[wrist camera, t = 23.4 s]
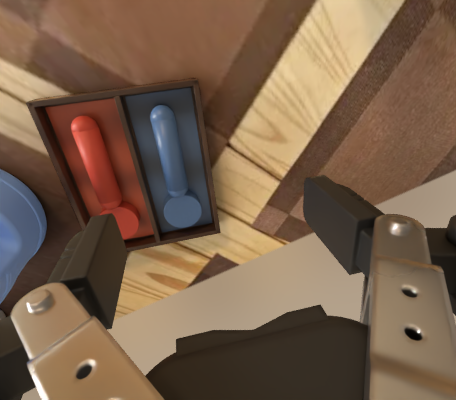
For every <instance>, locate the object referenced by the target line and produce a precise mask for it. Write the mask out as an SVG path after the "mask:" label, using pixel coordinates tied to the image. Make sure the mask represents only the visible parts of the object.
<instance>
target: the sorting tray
mask: <svg viewBox="0 0 456 400" xmlns="http://www.w3.org/2000/svg"><path fill="white" fill-rule="evenodd" d="M26 104H27V106H28V109H29V111H30V113H31V115H32V118H33V120H34V122H35V124H36V127H37V129H38V131H39V133H40V136H41V138H42V140H43V142H44V145H45V147H46V149H47V151H48V154H49V156H50V158H51V160H52V163H53V165H54V167H55V169H56V171H57V174H58V176H59V178H60V180H61V183H62V185H63V187H64V189H65V192H66V194H67V196H68V198H69V201H70V203H71V205H72V207H73V210H74V212H75V214H76V216H77V219H78V221H79V223H80V225H81V228H82V230H83V231H84V230H85V228H86V226H87V224H88V222H89V220H90V218H91V217H93V216H98V215H100V213H101V210H102V208H103V207H102V206H101V205H100V203H99V201H98V198H97V196H96V193H95V191H94V188H93V185H92V183H91V180H90V178H89V175H88V172H87V170H86V167H85V165H84V162H83V160H82V157H81V154H80V152H79V149H78V147H77V144H76V141H75V139H74V136H73V134H72V131H71V123H72V121H73V120H74V119H75V118H76V117H78V116H88V117H91V118H92V119H94V120H95V121H96V123H97V125H98V127H99V130H100V133H101V136H102V139H103V142H104V145H105V148H106V151H107V154H108V157H109V160H110V163H111V166H112V169H113V172H114V175H115V178H116V181H117V184H118V186H119V189H120V192H121V195H122V201H125V202H128V203H130V204H132V205H133V206H135V207H136V209H137V210H138V212H139V214H140V221H139V227H138V230H137V231H136V233H135V234H134V235H133V236H131V237H129V238H127V239H123V240H124V243H125V246H126V251H127V252H129V251H134V250H139V249H144V248H148V247H153V246H158V245H163V244H168V243H173V242H178V241H183V240H188V239H193V238H198V237H203V236H208V235H212V234H217V233H220V226H219V219H218V212H217V206H216V199H215V192H214V185H213V179H212V172H211V165H210V158H209V152H208V145H207V138H206V131H205V125H204V118H203V111H202V104H201V98H200V91H199V84H198V79H196V78H191V79H183V80H176V81H168V82H161V83H153V84H146V85H138V86H131V87H123V88H116V89H108V90H101V91H93V92H86V93H78V94H71V95H63V96H56V97H48V98H41V99H35V100H32V101H29V102H26ZM158 105H165V106H167V107H169V108H170V109H171V110H172V111H173V113H174V116H175V121H176V126H177V131H178V136H179V141H180V146H181V151H182V156H183V161H184V167H185V172H186V177H187V182H188V191H191V192H193V193H194V194H196V195H197V197H198V198H199V200H200V204H201V208H202V213H201V216H200V218H199V220H198V221H197V222H196V223H195V224H193V225H192V226H189V227H185V228H179V227H175V226H173V225H171V224H170V223H168V222H167V220H166V219H165V217H164V202H165V199H166V198H167V196H168V195H169V192H168V190H167V187H166V183H165V178H164V174H163V170H162V166H161V162H160V158H159V153H158V149H157V145H156V141H155V137H154V133H153V128H152V124H151V120H150V114H151V111H152V110H153V108H155V107H156V106H158Z"/></svg>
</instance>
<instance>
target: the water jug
mask: <svg viewBox="0 0 456 400" xmlns="http://www.w3.org/2000/svg"><path fill="white" fill-rule="evenodd" d="M46 230H47V221H46V216H45V212H44V209H43V207H42V205H41V203H40V202H39V200H38V198H37V197H36V196H35V194H34V193H33V192H32V191H31V190H30V189H29V188H28V187H27V186H26V185H25V184H24V183H22V182H21V181H20V180H18V179H17V178H16V177H14V176H13V175H11V174H9V173H7V172H5V171H3V170H1V169H0V304H1V302H2V301H3V300H4V299H5V297H6V296H7V294H8V293H9V291H10V290H11V288H12V287H13V285H14V283H15V281H16V279H17V277H18V275H19V274H20V272H21V271H22V269H23V268H24V267H25V265H26V264H27V262H28V261H29V260H30V259H31V258H32V257H33V256H34V255H35V253H36V252H37V251H38V249H39V248H40V246H41V245H42V243H43V240H44V238H45V235H46Z"/></svg>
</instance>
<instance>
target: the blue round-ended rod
mask: <svg viewBox="0 0 456 400" xmlns="http://www.w3.org/2000/svg"><path fill="white" fill-rule="evenodd" d="M150 120H151V124H152V128H153V133H154V137H155V141H156V145H157V149H158V153H159V158H160V162H161V166H162V170H163V174H164V178H165V183H166V187H167V190H168V192H169V195H168V196H167V198H166V199H165V202H164V217H165V219H166V220H167V222H168V223H170V224H171V225H173V226H175V227H179V228H185V227H189V226H192V225H193V224H195V223H196V222H197V221H198V220H199V218H200V216H201V213H202V208H201V204H200V200H199V198H198V197H197V195H196V194H194V193H193V192H191V191H188V182H187V177H186V172H185V167H184V161H183V156H182V151H181V146H180V141H179V136H178V131H177V126H176V121H175V116H174V113H173V111H172V110H171V109H170V108H169V107H167V106H165V105H158V106H156V107H155V108H153V110H152V111H151V114H150Z"/></svg>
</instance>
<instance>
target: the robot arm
mask: <svg viewBox="0 0 456 400" xmlns="http://www.w3.org/2000/svg"><path fill="white" fill-rule="evenodd" d="M303 212H304V217H305V220H306V222H307V224H308V225H309V226H310V227H311V229H312V230H313V231H314V232H315V233H316V235H317V236H318V237H319V238H320V239H321V241H322V242H323V243H324V244H325V246H326V247H327V248H328V249H329V251H330V252H331V253H332V254H333V255H334V257H335V258H336V259H337V260H338V261H339V263H340V264H341V265H342V266H343V268H344V269H345V270H346V271H347V272H348V274H349V275H351V274H356V273H360V272H363V274H364V275H365V277H364V283H363V294H362V304H361V315H360V322H358V321H354V320H352V319H347V318H343V317H337V316H327V315H326V313H325V311H324V310H323V308H322V307H321V305H317V306H313V307H308V308H304V309H300V310H296V311H292V312H287V313H285V314H283V315H281V316H279V317H277V318H276V319H274V320H272V321H270V322H268V323H266V324H264V325H262V326H261V327H258V328H256V329H254V330H212V331H208V332H204V333H199V334H195V335H192V336H187V337H183V338H179V339H176V353H174V354H172V355H170V356H169V357H167V358H165V359H164V360H162V361H161V362H160V363H159V364H157V365H156V366H155V367H154V368H153V369H152V370H151V371H150V372H149V373H148V374H147V375H146V376H144V375H143V373H142V372H141V371H140V370H139V368H138V367H137V366H136V365H135V364H134V362H133V361H132V360H131V359H130V357H128V355H127V354H126V353H125V351H124V350H123V349H122V348H121V347H120V345H119V344H118V343H117V342H116V341H115V339H114V338H113V337H112V336H111V335H110V333H109V332H108V331H107V329H111V328H112V324H113V320H114V316H115V311H116V306H117V302H118V297H119V292H120V288H121V283H122V278H123V274H124V269H125V264H126V260H127V251H126V246H125V243H124V240H123V237H122V235H121V232H120V229H119V227H118V224H117V221H116V218H115V216H114V215H113V214H112V213H109V214H104V215H98V216H93V217H91V218H90V220H89V222H88V224H87V226H86V228H85V230H84V231H79V232H78V233H77V234H76V235H75V236H74V237H73V238H72V239H71V240H70V241H69V242H68V244H67V246H66V248H65V252H63V253H62V255H61V257H60V260H59V261H58V262H57V264H56V266H55V268H54V270H53V272H52V273H51V275H50V277H49V279H48V281H47V283H46V284H45V285H43V286H40V287H38V288H36V289H34V290H32V291H31V292H29V293H28V294H26V295H25V296H24V297H22V298H21V299H20V300H19V301H18V302H17V303H16V305H15V306H14V308H13V309H12V312H11V316H8V317H6V318H4V319H1V320H0V400H21V398H22V395H23V394H24V393H25V392H27V391H29V390H31V389H33V388H35V387H36V388H37V390H38V392H39V395H40V397H41V399H42V400H456V325H455V320H454V316H453V313H454V314H455V315H456V215H455V216H453V217H451V219H450V221H449V224H448V227H447V228H424V226H423V225H422V224H421V223H419V222H418V221H417V220H415V219H413V218H410V217H407V216H403V215H398V214H386V215H385V214H384V213H382V212H381V211H380V210H378V209H377V208H376V207H374V206H373V205H372V204H370V203H369V202H368V201H366V200H364V198H362V197H361V196H359V195H357V193H355V192H354V191H353V190H351V189H350V188H348V187H345V186H343V185H340V184H336V183H334V182H333V181H332V180H330V179H329V178H328V177H326V176H325V175H320V176H315V177H309V178H306V179H305V182H304V204H303Z"/></svg>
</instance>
